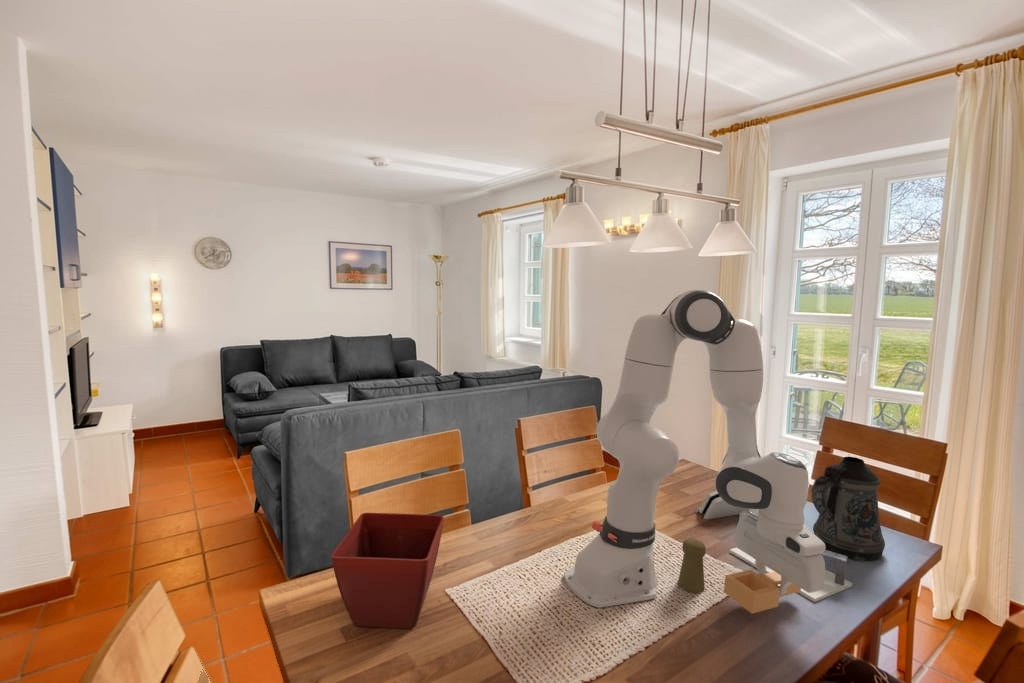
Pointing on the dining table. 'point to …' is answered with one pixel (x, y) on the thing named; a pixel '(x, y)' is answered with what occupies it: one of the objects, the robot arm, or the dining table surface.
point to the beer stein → (849, 510)
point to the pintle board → (826, 591)
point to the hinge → (718, 507)
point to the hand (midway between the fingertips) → (771, 586)
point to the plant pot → (387, 567)
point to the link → (756, 590)
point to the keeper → (840, 565)
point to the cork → (692, 566)
